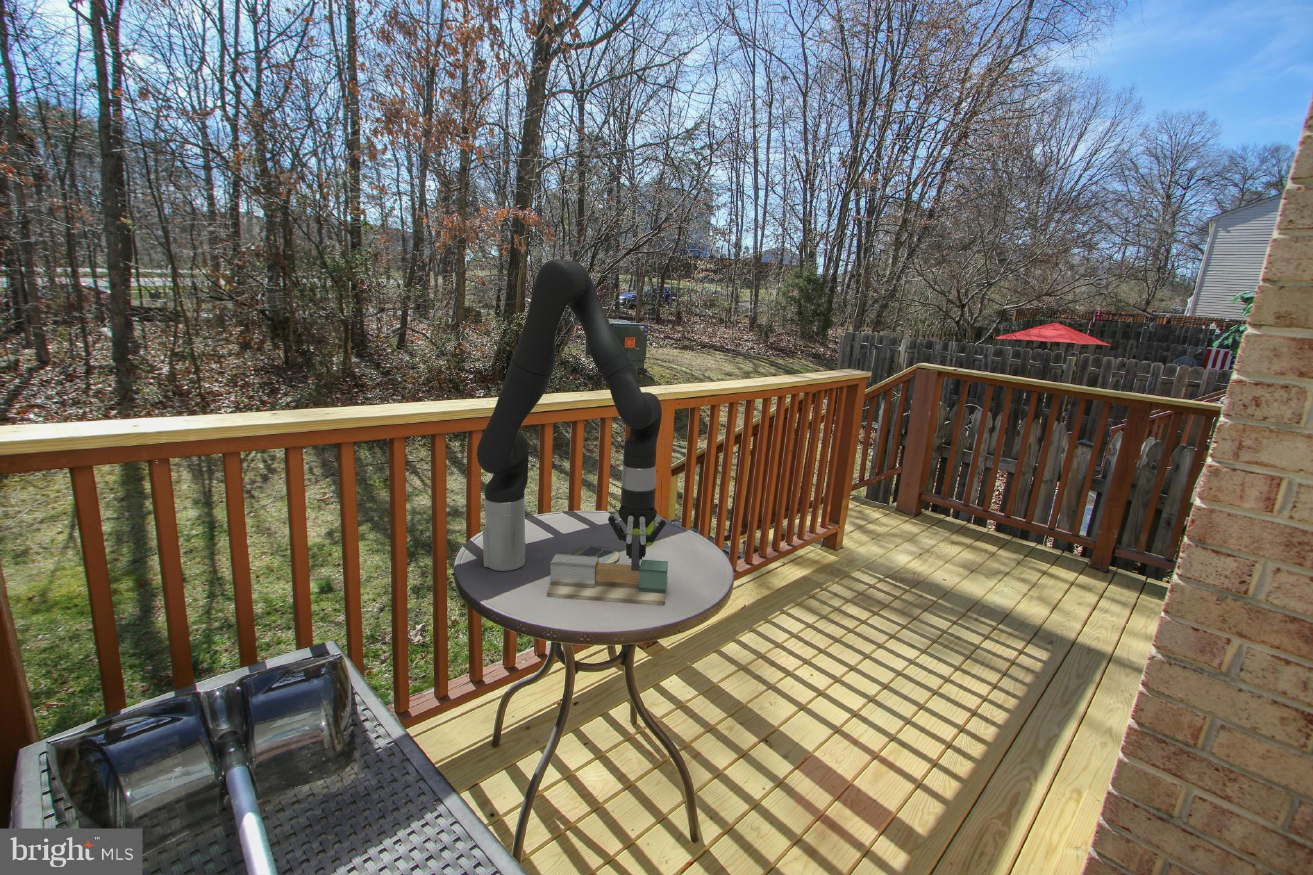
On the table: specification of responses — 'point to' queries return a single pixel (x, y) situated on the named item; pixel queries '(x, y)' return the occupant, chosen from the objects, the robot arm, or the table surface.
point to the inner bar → (621, 567)
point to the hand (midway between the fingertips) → (635, 557)
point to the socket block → (653, 576)
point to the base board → (609, 593)
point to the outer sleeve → (573, 570)
